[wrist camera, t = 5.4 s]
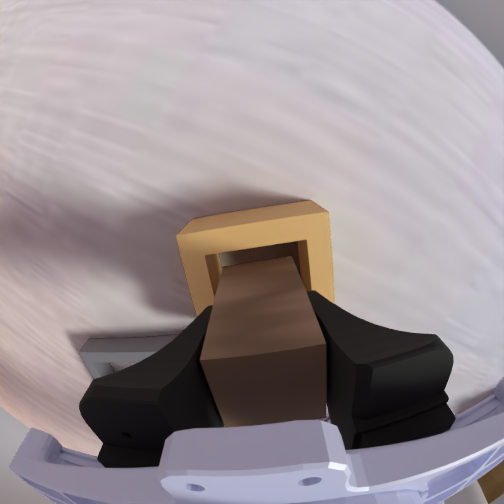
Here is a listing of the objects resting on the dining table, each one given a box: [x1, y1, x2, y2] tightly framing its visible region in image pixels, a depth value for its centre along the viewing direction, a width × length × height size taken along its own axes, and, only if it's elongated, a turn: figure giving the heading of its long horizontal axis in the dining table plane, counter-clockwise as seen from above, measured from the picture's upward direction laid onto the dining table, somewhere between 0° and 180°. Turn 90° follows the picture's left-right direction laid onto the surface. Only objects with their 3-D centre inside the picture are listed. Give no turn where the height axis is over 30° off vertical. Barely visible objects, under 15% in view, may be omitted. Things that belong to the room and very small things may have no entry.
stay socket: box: [176, 200, 335, 317], centre depth 16 cm, size 7×7×4 cm
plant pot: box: [477, 460, 504, 504], centre depth 25 cm, size 15×15×16 cm
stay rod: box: [200, 256, 326, 427], centre depth 11 cm, size 3×3×7 cm
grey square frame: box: [79, 335, 178, 379], centre depth 21 cm, size 13×13×2 cm
